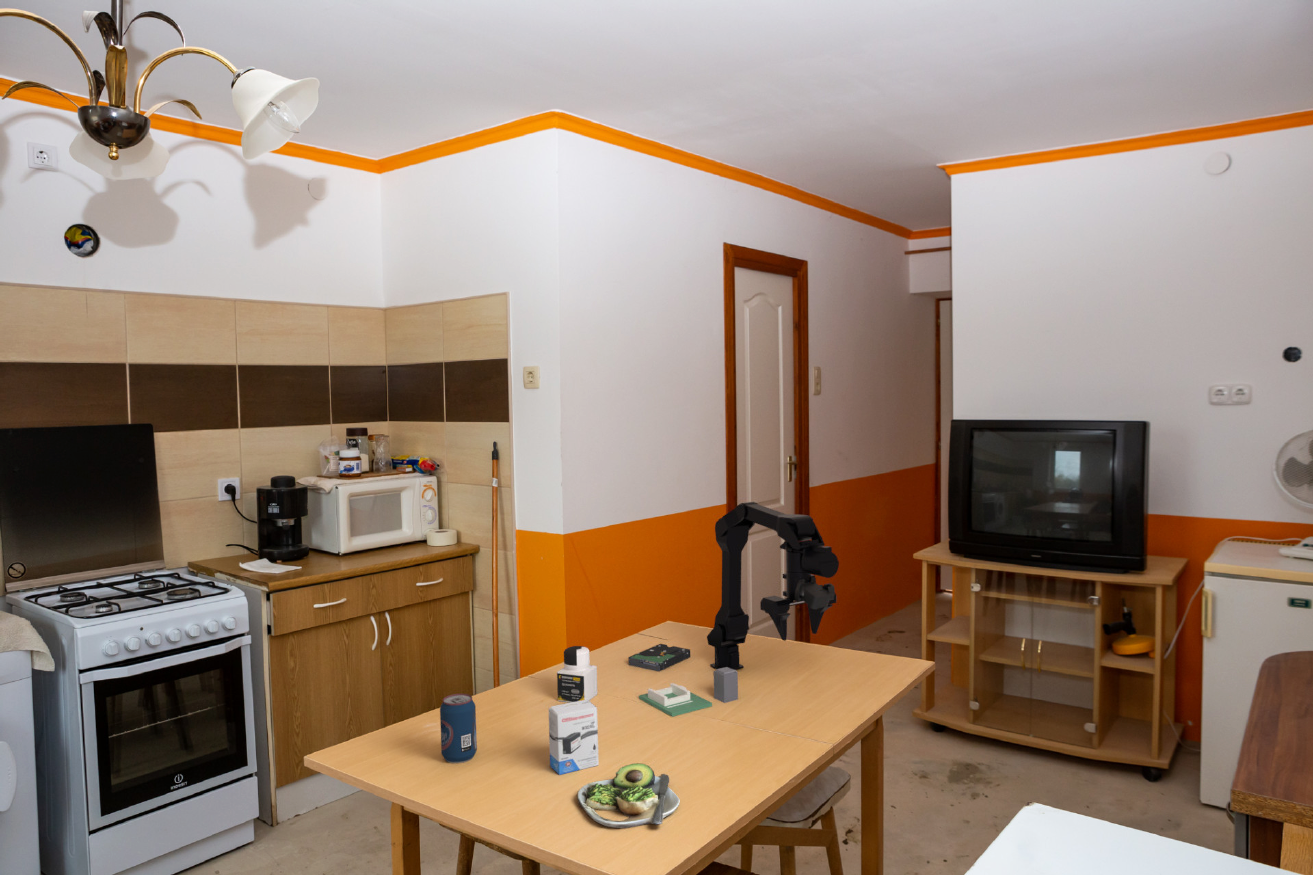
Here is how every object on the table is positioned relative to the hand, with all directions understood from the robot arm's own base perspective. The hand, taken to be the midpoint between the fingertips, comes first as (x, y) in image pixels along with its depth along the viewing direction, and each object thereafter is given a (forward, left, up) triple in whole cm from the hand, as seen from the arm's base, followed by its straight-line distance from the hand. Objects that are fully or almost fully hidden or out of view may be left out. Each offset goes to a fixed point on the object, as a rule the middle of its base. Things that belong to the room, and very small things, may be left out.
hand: (799, 636), depth 203 cm
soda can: (-15, -77, -15) cm, 80 cm away
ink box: (+2, -60, -15) cm, 62 cm away
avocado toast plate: (+21, -59, -15) cm, 64 cm away
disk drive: (-43, -11, -15) cm, 47 cm away
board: (-15, -25, -15) cm, 33 cm away
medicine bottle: (-31, -42, -15) cm, 54 cm away
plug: (-10, -14, -15) cm, 23 cm away
